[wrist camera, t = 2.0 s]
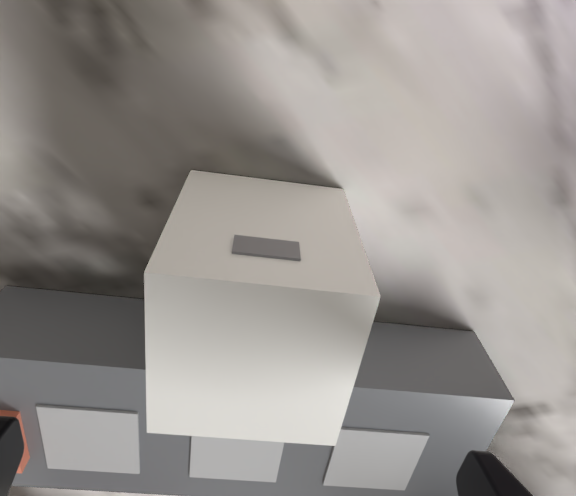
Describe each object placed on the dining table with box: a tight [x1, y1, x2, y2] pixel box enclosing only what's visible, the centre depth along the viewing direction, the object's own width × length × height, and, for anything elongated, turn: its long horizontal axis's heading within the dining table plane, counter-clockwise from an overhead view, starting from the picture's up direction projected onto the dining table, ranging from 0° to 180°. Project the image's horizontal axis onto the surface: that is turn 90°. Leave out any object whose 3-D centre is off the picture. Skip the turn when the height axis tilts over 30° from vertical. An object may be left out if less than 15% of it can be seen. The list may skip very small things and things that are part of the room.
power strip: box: [0, 286, 515, 496], centre depth 17 cm, size 24×6×4 cm, turn 82°
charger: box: [144, 170, 381, 446], centre depth 14 cm, size 5×8×6 cm, turn 172°
